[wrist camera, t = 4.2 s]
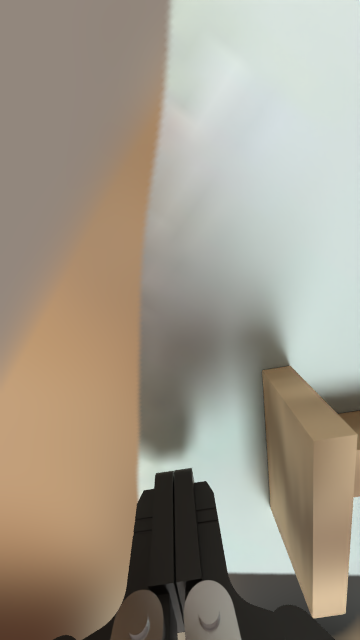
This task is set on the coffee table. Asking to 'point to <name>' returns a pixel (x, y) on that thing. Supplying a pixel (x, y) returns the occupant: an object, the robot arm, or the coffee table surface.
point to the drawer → (312, 485)
